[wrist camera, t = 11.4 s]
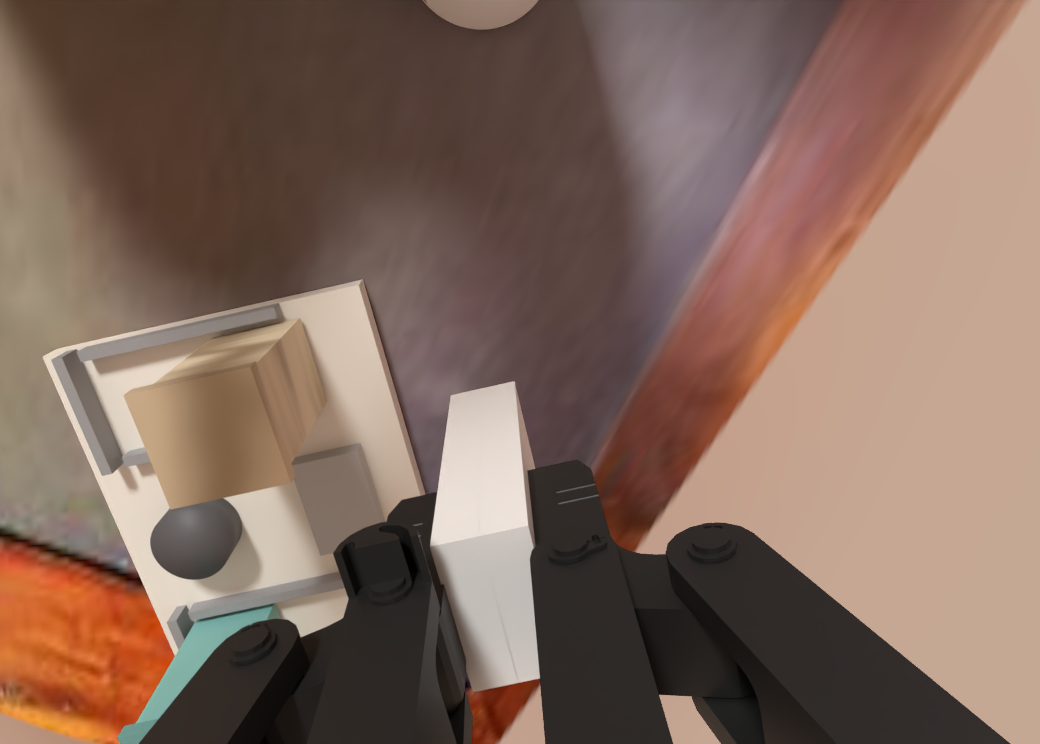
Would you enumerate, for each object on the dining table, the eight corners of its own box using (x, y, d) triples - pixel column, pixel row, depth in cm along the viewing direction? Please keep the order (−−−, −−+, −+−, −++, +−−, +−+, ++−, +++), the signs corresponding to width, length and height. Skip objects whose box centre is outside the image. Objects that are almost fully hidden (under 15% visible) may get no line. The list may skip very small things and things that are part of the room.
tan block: (238, 426, 44) (170, 509, 34) (204, 333, 42) (123, 395, 33) (333, 405, 43) (291, 483, 34) (303, 311, 42) (250, 366, 32)
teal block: (220, 688, 49) (158, 821, 40) (190, 616, 47) (117, 737, 38) (304, 670, 49) (261, 799, 40) (277, 597, 47) (225, 715, 38)
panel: (202, 683, 51) (180, 727, 47) (57, 349, 44) (16, 370, 40) (464, 628, 51) (462, 668, 47) (362, 279, 43) (350, 294, 39)
